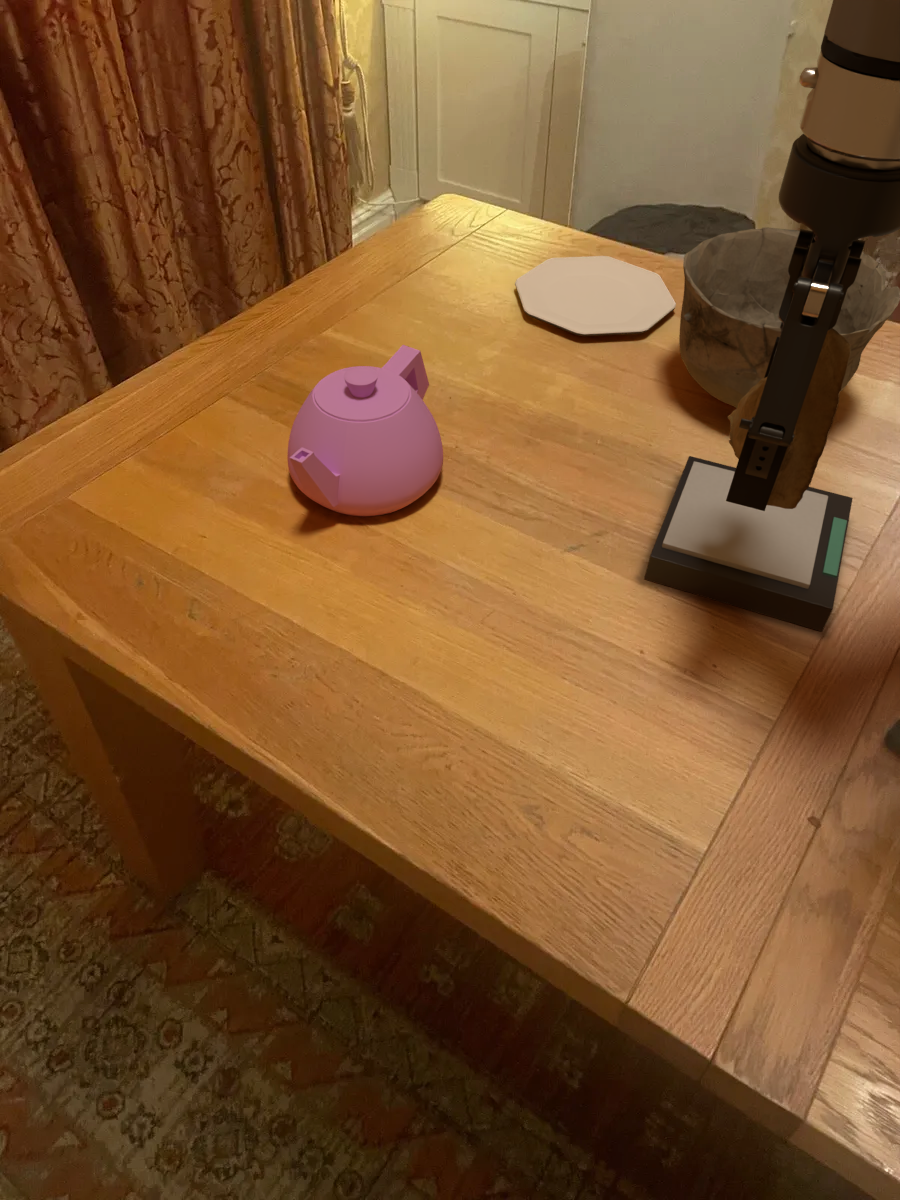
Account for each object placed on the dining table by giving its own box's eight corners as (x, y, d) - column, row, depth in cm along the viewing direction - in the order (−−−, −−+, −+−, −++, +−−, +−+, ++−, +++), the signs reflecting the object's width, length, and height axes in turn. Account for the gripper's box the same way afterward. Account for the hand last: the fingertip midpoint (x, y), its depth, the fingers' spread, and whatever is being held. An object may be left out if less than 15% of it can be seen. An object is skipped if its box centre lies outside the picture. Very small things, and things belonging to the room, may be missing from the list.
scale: (842, 520, 90) (855, 492, 87) (821, 632, 79) (835, 604, 77) (683, 478, 94) (690, 450, 91) (644, 579, 84) (651, 551, 81)
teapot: (359, 400, 102) (352, 301, 93) (482, 441, 97) (487, 341, 89) (239, 513, 89) (219, 410, 80) (375, 567, 84) (369, 464, 75)
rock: (840, 511, 60) (887, 421, 65) (789, 406, 57) (843, 319, 61) (702, 527, 69) (753, 447, 73) (650, 436, 65) (707, 358, 70)
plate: (696, 298, 120) (698, 287, 118) (619, 360, 109) (621, 349, 108) (570, 253, 128) (571, 242, 127) (487, 307, 117) (488, 296, 116)
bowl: (792, 482, 94) (841, 354, 83) (619, 398, 103) (641, 274, 92) (884, 394, 105) (937, 271, 94) (719, 326, 115) (750, 207, 104)
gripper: (819, 73, 59) (735, 368, 75) (763, 212, 45) (674, 541, 61) (941, 90, 57) (828, 389, 73) (924, 241, 43) (788, 572, 59)
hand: (758, 458), depth 67 cm, fingers closed on rock, 10 cm apart
